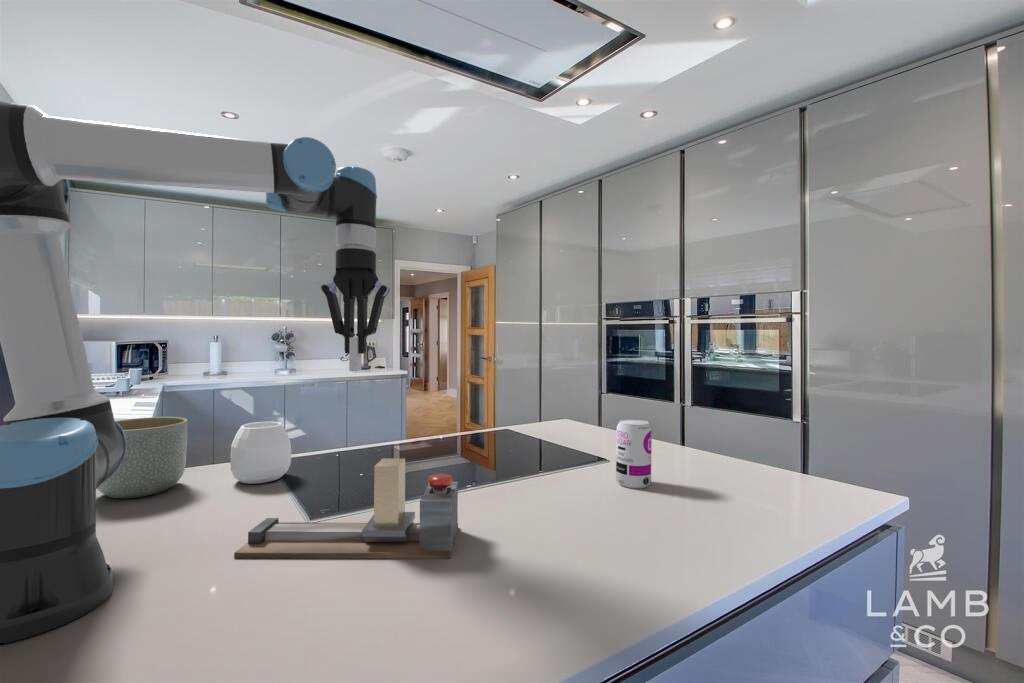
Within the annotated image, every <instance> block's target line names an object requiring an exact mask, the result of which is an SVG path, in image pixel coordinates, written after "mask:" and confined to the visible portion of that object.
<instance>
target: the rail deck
mask: <svg viewBox="0 0 1024 683" xmlns="http://www.w3.org/2000/svg"><path fill="white" fill-rule="evenodd" d="M458 487H459V482H458V481H452V485H450V486H448V487H447V494H433V487H430V486H429V485H428V484H427V487H426V489H425V490H424V493H423V495H422V496H421V498H420V500H419V522H413V525H411V526H410V528H409V530H408V541H407V542H365V536H362V530H363V528H364V527H365V526H366V524H367V523H368V522H306V521H305V522H302V521H301V522H299V521H298V522H294V521H293V522H289V521H288V522H287V521H285V522H284V521H282V522H279V517H267V518H265V519H263V520H262V521H261V522H259V523H258V524H257V525H256V526H254V527H253V528H252V529H250V530H249V531H247V542H246V543H244V544H243V545H242V546H241V547H240V548H238V549H237V550H235V552H234V553H233V556H234V557H233V558H234V559H235V558H236V559H418V560H419V559H423V560H424V559H433V560H434V559H438V560H439V559H442V560H443V559H444V560H445V559H451V557H452V556H451V555H452V552H453V548H454V545H455V542H456V537H457V532H458V529H459V523H458V518H459V516H458V513H459V512H458V509H459V507H458V506H459V504H458V503H459V500H458V498H459V488H458Z"/></svg>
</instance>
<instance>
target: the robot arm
mask: <svg viewBox="0 0 1024 683" xmlns="http://www.w3.org/2000/svg"><path fill="white" fill-rule="evenodd" d="M69 180H71V181H84V182H85V181H86V182H87V181H88V182H102V183H115V184H133V185H147V186H160V187H161V186H162V187H175V188H176V187H177V188H191V189H193V188H195V189H207V190H208V189H209V190H210V189H211V190H222V191H223V190H224V191H239V192H253V193H254V192H255V193H265V203H266V206H267V207H268V208H269V209H272V210H276V211H280V212H284V213H287V214H289V213H295V214H304V215H310V216H311V215H312V216H318V217H327V218H334V219H335V247H336V248H337V250H336V251H335V273H334V275H333V277H332V281H331V282H329V283H327V284H322V285H321V286H320V287H321V288H320V289H321V291H322V292H323V295H325V298H326V300H327V301H326V302H327V306H328V309H329V314H330V317H331V322H332V326H333V330H334V333H336V334H338V335H341V336H342V337H343V338H344V353H345V354H348V355H349V358H348V359H349V360H348V361H349V363H348V364H349V366H348V369H349V370H348V371H349V372H359V371H360V372H361V371H362V357H363V356H362V355H363V354H366V353H367V338H368V336H371V335H376V333H377V330H378V327H379V323H380V322H379V321H380V317H381V313H382V309H383V305H384V302H385V298H386V297H387V296H388V294H389V293H390V290H391V289H390V287H389V286H387V285H384V284H383V283H381V282H380V281H379V278H378V275H377V254H376V252H375V250H376V248H377V199H378V196H377V181H376V177H375V175H374V173H372V171H370V170H368V169H366V168H363V167H359V166H349V165H347V166H341V167H339V168H337V162H336V159H335V156H334V153H333V152H332V151H331V149H330V148H329V147H328V146H327V145H326V144H324V143H323V142H322V141H321V140H318V139H316V138H313V137H309V136H302V137H298V138H295V139H293V140H292V141H290V142H289V143H281V142H280V143H279V142H272V141H271V142H269V141H260V140H253V139H252V140H251V139H244V138H236V137H235V138H234V137H227V136H226V137H225V136H220V135H219V136H218V135H211V134H210V135H209V134H201V133H193V132H185V131H179V130H178V131H177V130H167V129H160V128H151V127H145V126H144V127H142V126H134V125H127V124H117V123H110V122H103V121H102V122H101V121H93V120H84V119H83V120H82V119H75V118H68V117H60V116H50V115H48V114H47V113H45V112H44V111H42V110H41V109H40V108H39V107H38V106H36V105H30V104H26V103H25V104H23V103H17V102H7V101H1V100H0V346H1V347H0V348H1V350H2V354H3V358H4V362H5V367H6V371H7V374H8V377H9V382H10V387H11V391H12V395H13V400H14V406H13V408H12V409H11V410H10V411H9V412H7V414H6V415H5V416H4V417H3V423H4V425H3V424H2V425H0V643H4V644H8V643H12V642H15V641H19V640H23V639H24V640H25V639H27V638H30V637H33V636H36V635H39V634H42V633H44V632H45V633H46V632H48V631H51V630H53V629H56V628H58V627H62V626H63V625H65V624H68V623H70V622H72V621H74V620H76V619H78V618H80V617H83V616H84V615H86V614H88V613H89V612H91V611H93V610H94V609H96V608H97V607H98V606H100V605H101V604H103V603H104V602H105V601H106V600H107V599H108V598H109V597H110V595H111V594H112V592H113V590H114V573H113V569H112V567H111V566H110V564H108V563H107V561H106V557H105V554H104V552H103V548H102V547H101V544H100V542H99V540H98V538H97V516H96V515H97V490H98V489H97V488H98V487H99V486H100V485H101V484H102V483H103V482H105V481H106V480H107V479H108V478H110V477H111V476H112V475H113V474H114V473H115V471H116V470H117V469H118V467H119V466H120V465H121V463H122V461H123V459H124V456H125V452H126V447H127V440H126V435H125V433H124V431H123V429H122V427H121V426H120V425H119V424H118V423H117V422H116V421H117V420H116V419H115V416H114V413H113V408H112V404H111V400H110V398H109V397H108V396H106V395H104V394H102V393H99V392H98V391H96V389H95V387H94V382H93V379H92V374H91V371H90V365H89V361H88V356H87V353H86V349H85V344H84V338H83V335H82V331H81V326H80V322H79V318H78V317H79V316H78V313H77V309H76V304H75V301H74V300H75V299H74V295H73V292H72V287H71V284H70V283H71V282H70V279H69V273H68V269H67V266H66V262H65V256H64V251H63V248H62V244H61V239H60V238H61V237H62V235H64V234H65V233H66V232H67V231H68V230H69V229H70V228H71V223H70V218H69V213H68V210H67V206H68V205H69V204H68V203H70V202H69V201H70V198H71V187H70V183H69ZM337 289H338V290H339V292H340V293H341V295H342V298H343V299H342V300H343V316H342V311H341V308H340V304H339V299H338V296H337V294H336V293H337V292H338V290H337ZM374 289H375V290H374ZM373 291H374V292H375V295H374V300H373V302H372V303H373V304H372V306H371V307H372V308H371V310H370V313H369V314H370V316H369V319H368V303H369V296H370V294H372V292H373ZM355 303H356V304H357V308H356V309H357V310H356V314H357V315H356V318H357V320H356V321H357V322H356V324H357V326H356V330H357V333H355ZM355 336H357V337H355ZM7 642H8V643H7Z"/></svg>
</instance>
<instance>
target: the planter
mask: <svg viewBox="0 0 1024 683" xmlns="http://www.w3.org/2000/svg"><path fill="white" fill-rule="evenodd" d="M115 421H116V422H117V423H118V424H119V425H120V426H121V427H122V429H123V431H124V433H125V435H126V440H127V447H126V452H125V456H124V459H123V461H122V463H121V465H120V466H119V467H118V469H117V470H116V471H115V473H114V474H113V475H112V476H111V477H110V478H108V479H107V480H106V481H105V482H103V483H102V484H101V485H100V486H99V487H98V488H97V489H96V490H97V491H99V492H100V493H102V495H104V496H107V497H110V498H113V499H135V498H142V497H147V496H152V495H156V494H159V493H162V492H165V491H167V490H169V489H170V488H172V487H173V486H175V485H176V484H177V483H178V482H179V481H180V480H181V479H182V477H183V475H184V474H185V469H186V465H187V464H186V463H187V448H188V446H187V445H188V424H189V423H188V419H187V418H186V417H185V418H184V417H179V416H178V417H177V416H152V417H151V416H150V417H139V418H138V417H137V418H128V419H121V420H120V419H119V420H115Z"/></svg>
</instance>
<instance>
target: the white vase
mask: <svg viewBox="0 0 1024 683" xmlns="http://www.w3.org/2000/svg"><path fill="white" fill-rule="evenodd" d="M229 457H230V458H229V459H230V460H229V462H230V471H231V474H232V476H233V477H234V479H236V480H238V482H240V483H242V484H251V485H252V484H263V483H264V484H265V483H269V482H272V481H276V480H278V479H280V478H281V477H283V476H284V475H285V474H286V473H287V472H288V470H289V468H290V465H291V463H292V447H291V439H290V437H289V435H288V432H287V430H286V429H285V427H284V425H283V424H282V423H281V422H280V421H279V422H278V421H272V420H271V421H257V422H254V421H253V422H249V423H244V424H242V425H241V426H240V427H239V429H238V430H237V432H236V434H235V435H234V438H233V441H232V442H231V447H230V456H229Z"/></svg>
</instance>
